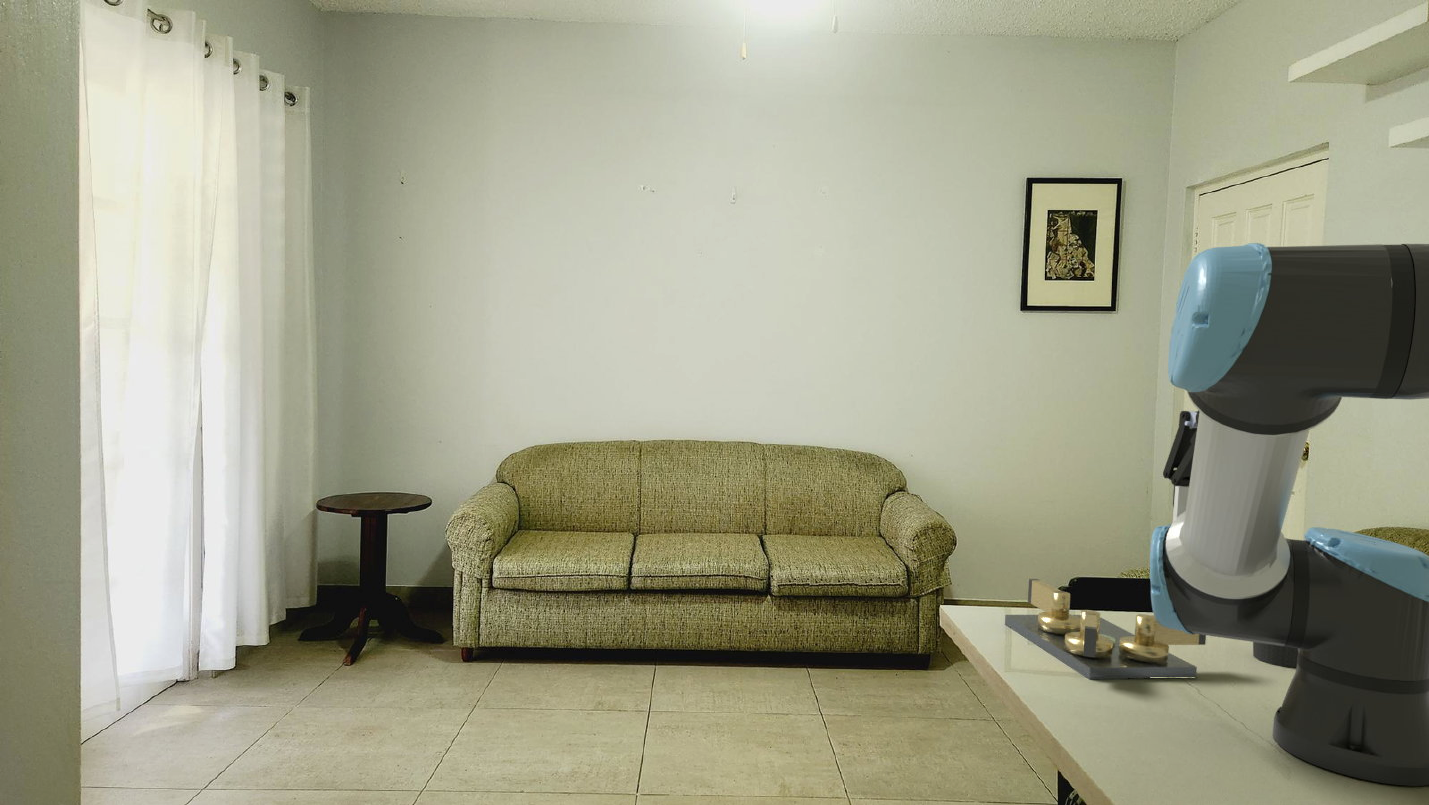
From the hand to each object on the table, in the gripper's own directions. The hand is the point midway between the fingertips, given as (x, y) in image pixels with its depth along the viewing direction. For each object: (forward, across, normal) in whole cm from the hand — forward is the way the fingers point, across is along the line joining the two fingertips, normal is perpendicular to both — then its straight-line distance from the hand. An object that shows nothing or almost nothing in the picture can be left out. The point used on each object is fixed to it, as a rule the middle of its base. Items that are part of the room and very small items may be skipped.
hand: (1214, 544), depth 118 cm
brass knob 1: (+16, +21, +10) cm, 28 cm away
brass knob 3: (+16, +6, +2) cm, 18 cm away
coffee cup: (+18, +9, -18) cm, 27 cm away
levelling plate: (+18, +14, +7) cm, 24 cm away
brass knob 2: (+16, +6, +13) cm, 22 cm away
